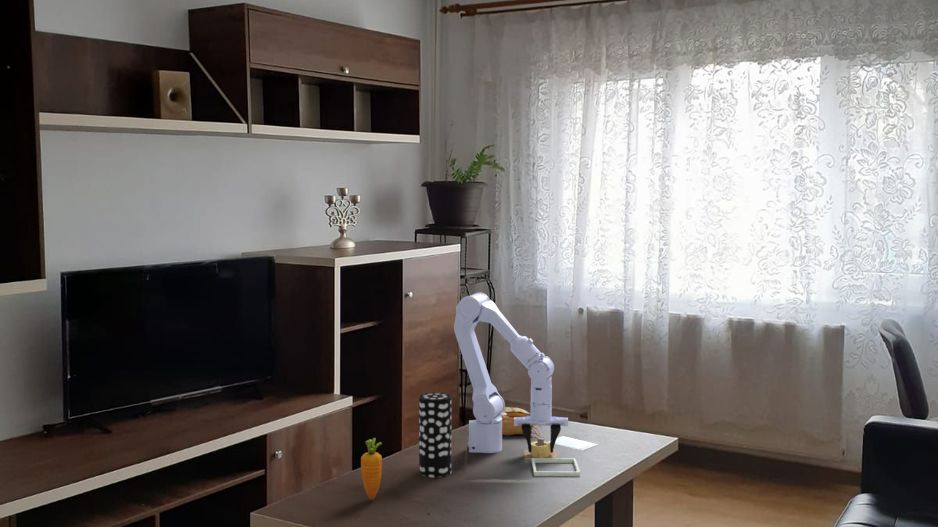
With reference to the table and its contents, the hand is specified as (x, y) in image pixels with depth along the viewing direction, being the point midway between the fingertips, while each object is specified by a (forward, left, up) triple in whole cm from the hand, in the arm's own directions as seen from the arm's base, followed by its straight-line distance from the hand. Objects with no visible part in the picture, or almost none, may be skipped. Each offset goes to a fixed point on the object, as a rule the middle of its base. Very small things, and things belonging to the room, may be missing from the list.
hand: (540, 451), depth 252 cm
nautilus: (-7, +21, -2) cm, 22 cm away
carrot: (-42, -34, -2) cm, 54 cm away
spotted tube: (-28, -13, -2) cm, 31 cm away
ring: (0, 0, -1) cm, 1 cm away
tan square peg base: (0, 0, -2) cm, 2 cm away
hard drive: (+10, +11, -2) cm, 15 cm away
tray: (+3, -12, -2) cm, 12 cm away
